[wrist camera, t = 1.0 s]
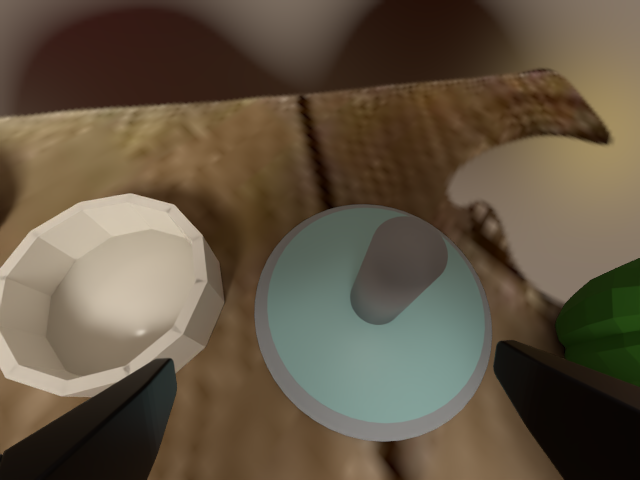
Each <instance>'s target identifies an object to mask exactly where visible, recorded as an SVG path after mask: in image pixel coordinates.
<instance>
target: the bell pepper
mask: <svg viewBox="0 0 640 480" xmlns="http://www.w3.org/2000/svg"><path fill="white" fill-rule="evenodd" d="M555 328H556V332H557V336H558V339H559V341H560V342H561V343H562V344H563V345H564V346H565V347H566V350H565V358H566V360H568V361H571V362H574V363H576V364H579V365H582V366H584V367H587V368H590V369H592V370H595V371H598V372H601V373H603V374H606V375H609V376H611V377H614V378H617V379H619V380H622V381H625V382H627V383H630V384H633V385H636V386H638V387H640V258H638V259H636V260H634V261H631V262H629V263H627V264H624V265H622V266H620V267H618V268H615V269H613V270H611V271H609V272H607V273H604V274H602V275H600V276H598V277H596V278H594V279H592V280H590V281H589V282H588V283H587V284H585V285H584V286H583V287H582V288H581V289H579V290H578V291H577V292H576V293H575V294H574V295H573V296H572V297H571V298H570V299H569V300H568V301H567V302H566V303H565V304H564V306H563V308H562V310H561V312H560V314H559V316H558V318H557V320H556V324H555Z"/></svg>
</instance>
